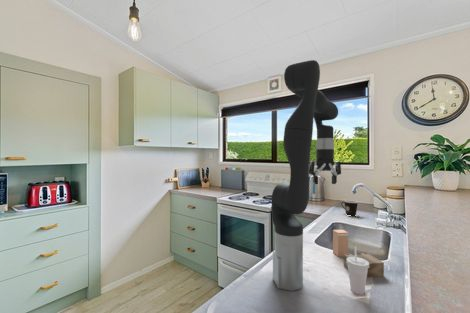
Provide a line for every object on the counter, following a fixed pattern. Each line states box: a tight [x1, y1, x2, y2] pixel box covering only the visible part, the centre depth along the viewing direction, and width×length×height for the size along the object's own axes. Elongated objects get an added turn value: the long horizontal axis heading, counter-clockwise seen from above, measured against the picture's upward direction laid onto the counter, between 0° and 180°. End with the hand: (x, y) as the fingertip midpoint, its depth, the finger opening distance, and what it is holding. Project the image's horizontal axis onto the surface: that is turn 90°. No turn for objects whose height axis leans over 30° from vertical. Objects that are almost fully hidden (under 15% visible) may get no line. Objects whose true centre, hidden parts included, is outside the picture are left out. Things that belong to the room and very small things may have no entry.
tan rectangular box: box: [332, 229, 350, 257], centre depth 96 cm, size 5×4×10 cm
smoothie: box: [346, 246, 369, 295], centre depth 70 cm, size 6×6×14 cm
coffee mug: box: [340, 200, 359, 217], centre depth 163 cm, size 12×9×10 cm
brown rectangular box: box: [343, 252, 385, 278], centre depth 82 cm, size 10×8×5 cm
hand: (324, 184), depth 101 cm, fingers open, 8 cm apart
